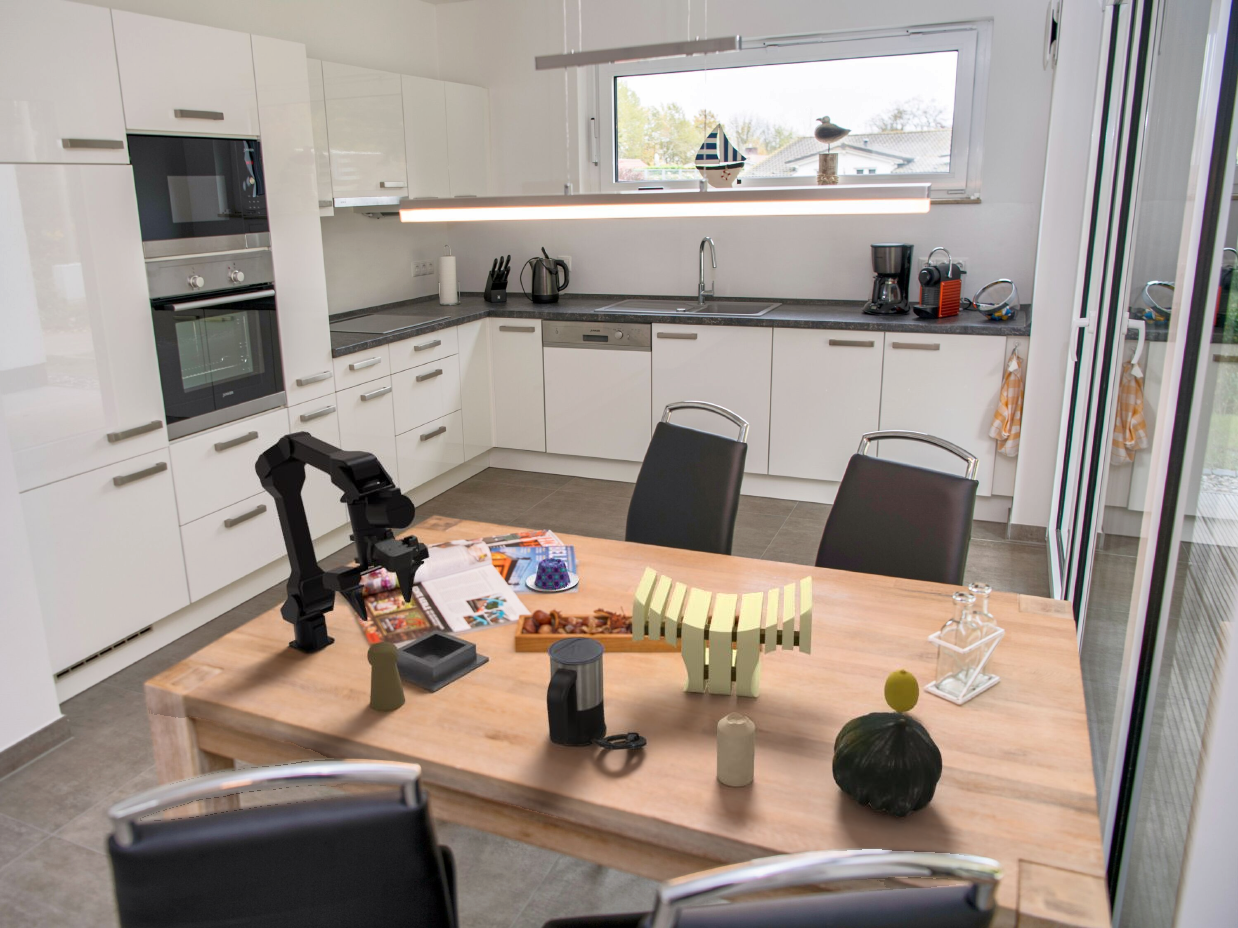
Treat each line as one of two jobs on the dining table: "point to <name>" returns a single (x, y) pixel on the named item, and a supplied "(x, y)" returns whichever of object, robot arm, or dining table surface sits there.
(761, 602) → the slatted curved stool
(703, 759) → the dining table surface
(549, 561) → the pudding
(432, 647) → the collar holder
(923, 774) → the squash
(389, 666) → the cork
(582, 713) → the milk frother
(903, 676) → the lemon
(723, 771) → the candle
